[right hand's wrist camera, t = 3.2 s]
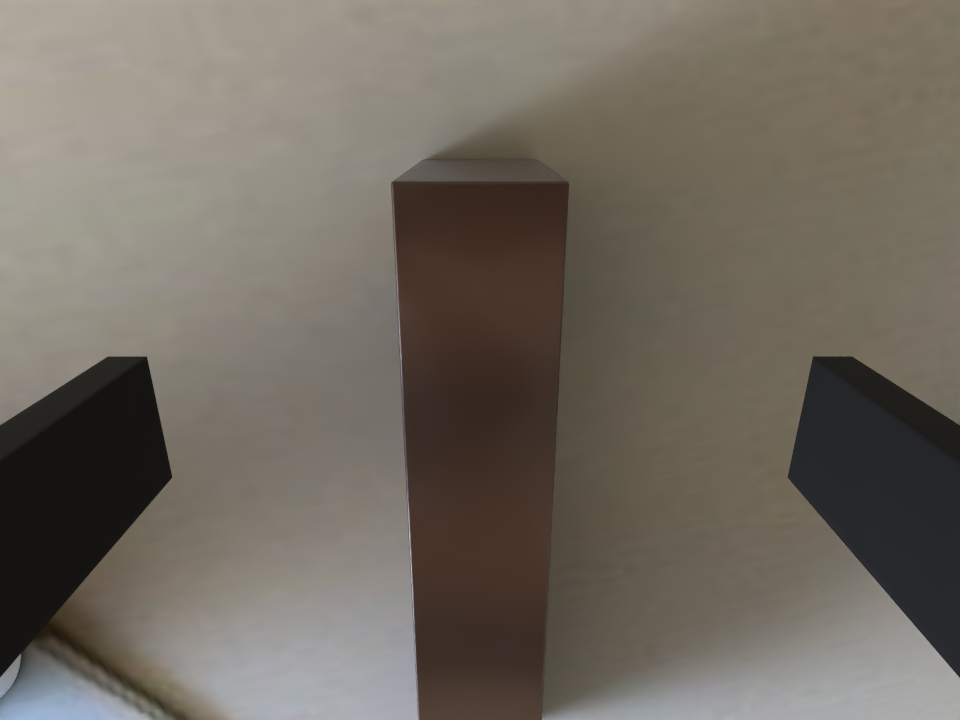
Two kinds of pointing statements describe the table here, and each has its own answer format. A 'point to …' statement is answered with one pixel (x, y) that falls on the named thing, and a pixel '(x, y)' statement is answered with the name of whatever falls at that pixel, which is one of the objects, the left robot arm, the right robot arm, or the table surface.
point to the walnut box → (480, 424)
